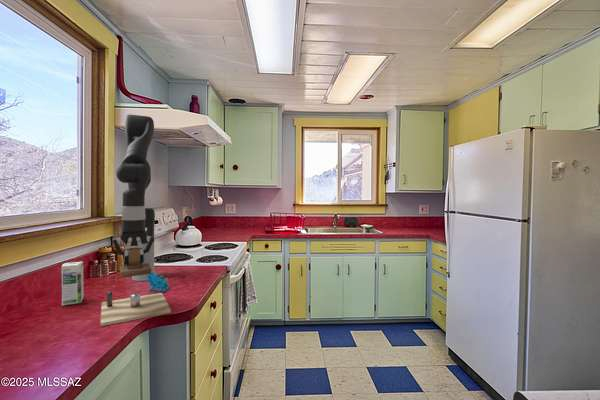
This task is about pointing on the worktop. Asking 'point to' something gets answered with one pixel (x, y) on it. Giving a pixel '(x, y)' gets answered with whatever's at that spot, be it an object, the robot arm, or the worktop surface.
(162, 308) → the board
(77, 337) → the worktop surface
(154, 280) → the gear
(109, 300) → the stop pin
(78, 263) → the syrup box
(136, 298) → the post
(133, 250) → the wooden display stand
